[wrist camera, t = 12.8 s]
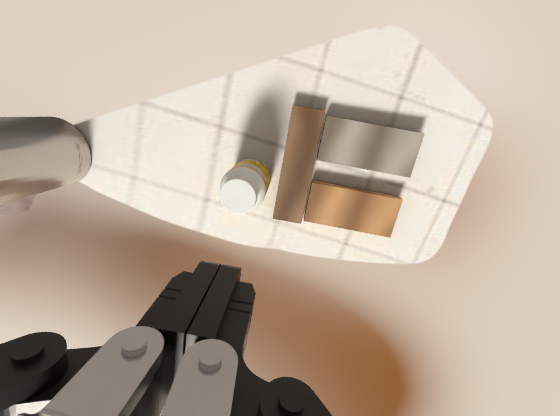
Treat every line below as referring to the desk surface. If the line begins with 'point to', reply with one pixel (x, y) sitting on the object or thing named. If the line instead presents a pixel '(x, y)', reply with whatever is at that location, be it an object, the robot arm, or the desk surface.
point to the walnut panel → (298, 163)
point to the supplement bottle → (244, 186)
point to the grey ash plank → (369, 146)
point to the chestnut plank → (352, 208)
